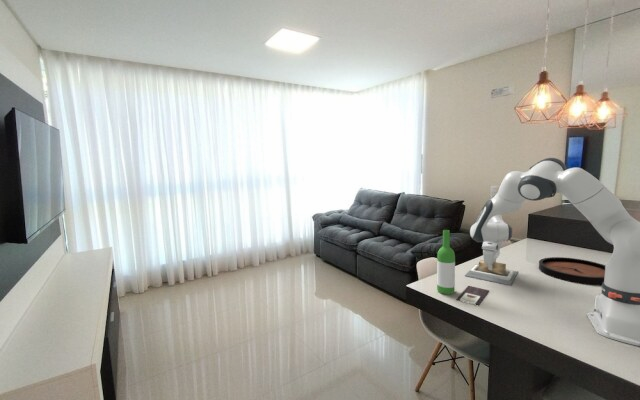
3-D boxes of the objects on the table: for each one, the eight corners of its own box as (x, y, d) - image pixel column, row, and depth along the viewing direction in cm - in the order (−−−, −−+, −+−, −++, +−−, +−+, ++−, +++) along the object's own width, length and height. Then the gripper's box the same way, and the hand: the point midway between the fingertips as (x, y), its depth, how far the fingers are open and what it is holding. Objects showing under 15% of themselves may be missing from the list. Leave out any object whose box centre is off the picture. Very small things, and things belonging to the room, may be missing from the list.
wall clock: (628, 269, 150) (600, 282, 136) (628, 277, 151) (599, 291, 137) (556, 253, 178) (526, 263, 164) (556, 260, 179) (526, 270, 164)
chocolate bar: (488, 290, 141) (478, 304, 127) (488, 292, 141) (478, 306, 127) (468, 285, 147) (456, 298, 133) (468, 287, 147) (456, 300, 133)
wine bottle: (434, 288, 146) (434, 229, 142) (449, 287, 146) (450, 228, 143) (441, 295, 138) (442, 232, 134) (457, 294, 139) (458, 231, 135)
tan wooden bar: (478, 270, 163) (478, 262, 162) (480, 267, 166) (480, 259, 166) (504, 274, 155) (504, 266, 154) (505, 272, 158) (505, 263, 158)
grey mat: (510, 285, 146) (510, 281, 146) (464, 276, 160) (464, 272, 159) (517, 272, 162) (518, 268, 162) (475, 264, 176) (475, 261, 176)
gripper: (490, 238, 168) (489, 261, 170) (481, 246, 153) (480, 272, 155) (503, 239, 164) (502, 263, 166) (494, 248, 149) (494, 274, 151)
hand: (491, 268), depth 160 cm, fingers closed on tan wooden bar, 4 cm apart
